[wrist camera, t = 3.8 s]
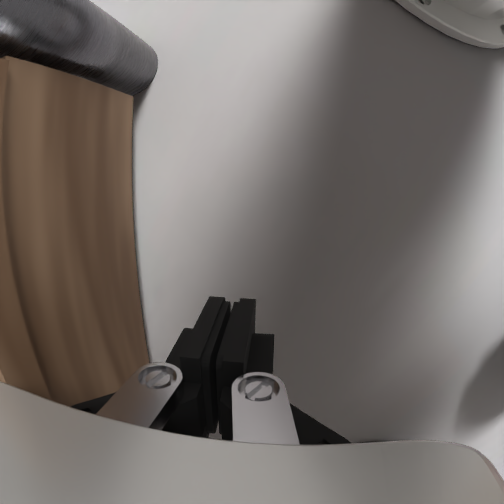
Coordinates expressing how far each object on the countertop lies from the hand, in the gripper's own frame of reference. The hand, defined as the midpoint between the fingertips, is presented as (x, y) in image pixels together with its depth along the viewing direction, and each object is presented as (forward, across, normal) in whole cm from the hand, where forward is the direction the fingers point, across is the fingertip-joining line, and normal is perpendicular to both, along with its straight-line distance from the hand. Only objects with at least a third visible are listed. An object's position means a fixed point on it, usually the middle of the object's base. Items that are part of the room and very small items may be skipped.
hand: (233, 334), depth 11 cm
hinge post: (+4, +6, -11) cm, 13 cm away
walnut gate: (+3, +6, 0) cm, 7 cm away
